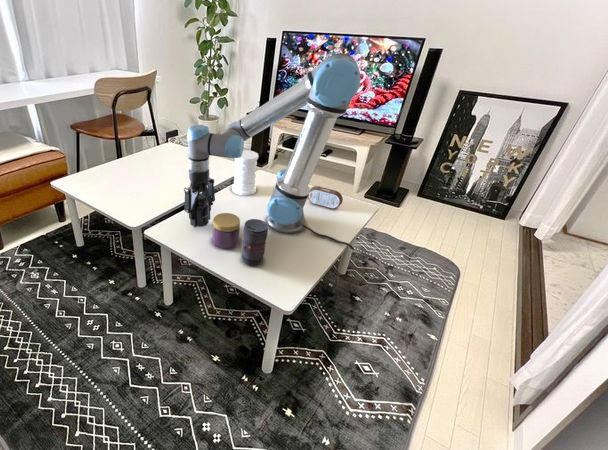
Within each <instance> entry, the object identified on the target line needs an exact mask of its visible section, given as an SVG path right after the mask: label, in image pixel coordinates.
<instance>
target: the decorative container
mask: <svg viewBox="0 0 608 450" xmlns="http://www.w3.org/2000/svg"><path fill="white" fill-rule="evenodd" d="M259 157H260V156H259V153H258V152H257V151H253V150H246V149H245V150H244V149H243V153H242V156H241V157H240V158H234V164H235V166H234V174H233V175H234V179H233V183H234V184H233V185H232V187H231V190H232V192H233V193H234V194H237V195H239V196H251V195H255V194H256V191H257V187H256V177H257V176H256V175H257V174H256V172H257V165H258V160H259Z"/></svg>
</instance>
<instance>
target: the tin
mask: <svg viewBox="0 0 608 450" xmlns="http://www.w3.org/2000/svg"><path fill="white" fill-rule="evenodd" d="M309 189H310V193H309V196H308V198H307V200H308V201H309V202H310V203H311V204H313V205H315V206H320V207H322V208H326V209H329V210H336V209H338V208H339V207H340V206H341V205H342V204H343V200H344V198H343V195H342V194H341V193H340V191H338V190H335V189H332V188H327V187H323V186H320V185H315V186H312V187H310V188H309Z"/></svg>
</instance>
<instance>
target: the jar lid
mask: <svg viewBox="0 0 608 450" xmlns="http://www.w3.org/2000/svg"><path fill="white" fill-rule="evenodd" d="M213 226H214V227H215V228H216V229H217V230H219V231H223V232H231V231H235V230H237V229H238V228H239V226H240V227H241V218H240V217H239V216H238V215H236V214H234V213H230V212H223V213H221V212H220V213H218V214H216V215H214V217H213V219H212V227H213Z"/></svg>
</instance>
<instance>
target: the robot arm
mask: <svg viewBox="0 0 608 450" xmlns="http://www.w3.org/2000/svg"><path fill="white" fill-rule="evenodd" d="M360 86H361V72H360V69H359V65H358V63H357V61H356V59H355V58H354V57H353V56H352V55H350V54H348V53H345V52H344V53H343V52H337V53H334V54H331V55H329V56H328V57H326V58H325V59H324V60H323V61H321V62H320V63H319V64H318V65H317V66H315V67H314V68H313V69H311V70H310V71H308V72H307V73H306V74H305V77H304V78H303V79H301V80H300V81H298V82H297V83H295V84H294V85H292V86H290V87H289V88H287V89H286V90H284V91H283V92H281V93H279V94H278V95H276V96H274V97H273V98H272V99H270V100H268V101H267V102H265V103H264V104H262V105H260V106H259V107H257V108H256V109H254V110H252V111H251V112H250V113H248V114H247V115H245V116H243V117H241V118H240V119H238V120H237V121H234V122H232V123H230V124H229V125H228V127H227V128H226V129H225V130H224V131H223V132H222V133H213V132H212V133H211V132H210V127H208V126H207V125H204V124H194V125H191V126H189V127H188V128H187V139H186V142H187V154H188V156H187V159H188V178H189V182H190V183H189V186H188V187H184V188H183V192H184V204H183V205H184V208H183V209H184V212H185V213H187V214H188V218H189V220H190V221H189V222H190V224H189V225H190V226H192V227H193V228H196V227H197V226H196V212H195V207H196V203H197V199H198V196H199V194H204V195H206V201H207V202H208V204H209V221H210V220H211V210H212V206H213V205H214V202H216V196H215V179H214V178H212V177H210V156H213V157H219V158H220V157H221V158H226V159H235V158H240V157H241V156H242V153H243V150H244V148H245V147H244V146H245V141H247V140H249V139H251V138H252V137H254V136H255V135H257V134H259V133H261V132H262V131H264V130H266V129H268V128H269V127H271V126H273V125H274V124H276V123H278V122H279V121H281V120H283V119H285V118H286V117H288V116H290V115H292V114H293V113H296V111H298V110H301V109H302V108H304V107H306V106H308V111H307V113H306V116H305V119H304V120H303V121H304V122H303V125H302V126H301V129H300V132H299V135H298V137H297V140H296V143H295V144H294V145H295V146H294V148H293V150H292V153H291V155H290V159H289V161H288V164H287V166H286V168H282V169H280V170H278V172H277V175H276V181H275V182H276V183H275V185H274V189H273V191H272V194H271V197H270V200H269V201H268V203H267V216H266V218H267V219H266V224H267V225H268V228H270V229H271V230H273V231H275V232H278V233H282V234H297V233H300V232H301V231H303V230H304V229H306V230H307V231H310V232H311V233H312V234H314V235H316V236H319V237H322V238H326V239H329V240H331V241H333V242H335V243H338V244H341V245H346V246H348V247H349V248H350V249H351V250H352V251H355V248H354V246H353V245H352V244H351V243H348V242H345V241H342V240H338V239H336V238H334V237H333V236H332V237H331V236H329V235H326V234H322V233H318V232H317V231H315V230H313V229H312V228H310V227H309V226H307V225H306V218H305V212H304V207H305V204H306V203H307V200H308V196H309V193H310V189H311V188H310V187H309V184H310V183H311V179H312V177H313V175H314V172H315V170H316V168H317V165H318V163H319V161H320V159H321V156H322V155H323V151H324V150H325V147H326V145H327V143H328V140H329V138H330V136H331V133H332V131H333V128H334V127H335V124H336V123H337V119H338V118H340V117H341V116H343V115H345V114H346V112H347V110H348V108H349V105H350V103H351V101H352V99H353V98H355V95H357V93H358V91H359V88H360Z"/></svg>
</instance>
